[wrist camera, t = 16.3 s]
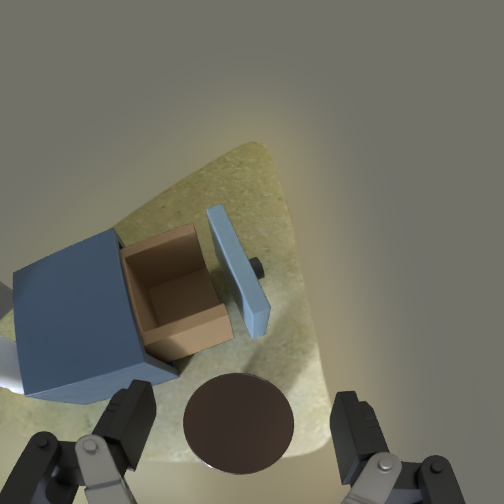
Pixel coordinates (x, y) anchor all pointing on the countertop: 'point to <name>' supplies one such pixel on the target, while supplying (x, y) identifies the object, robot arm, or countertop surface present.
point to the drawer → (191, 289)
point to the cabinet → (80, 325)
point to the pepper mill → (238, 423)
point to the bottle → (10, 366)
